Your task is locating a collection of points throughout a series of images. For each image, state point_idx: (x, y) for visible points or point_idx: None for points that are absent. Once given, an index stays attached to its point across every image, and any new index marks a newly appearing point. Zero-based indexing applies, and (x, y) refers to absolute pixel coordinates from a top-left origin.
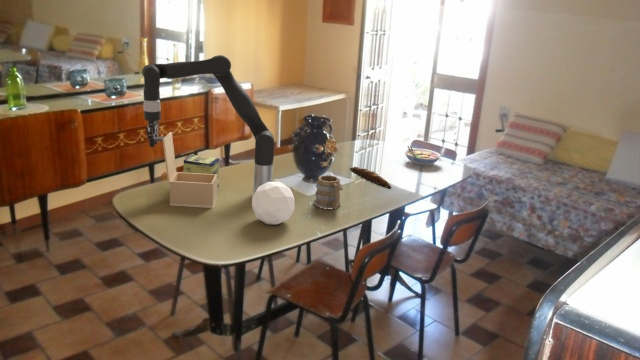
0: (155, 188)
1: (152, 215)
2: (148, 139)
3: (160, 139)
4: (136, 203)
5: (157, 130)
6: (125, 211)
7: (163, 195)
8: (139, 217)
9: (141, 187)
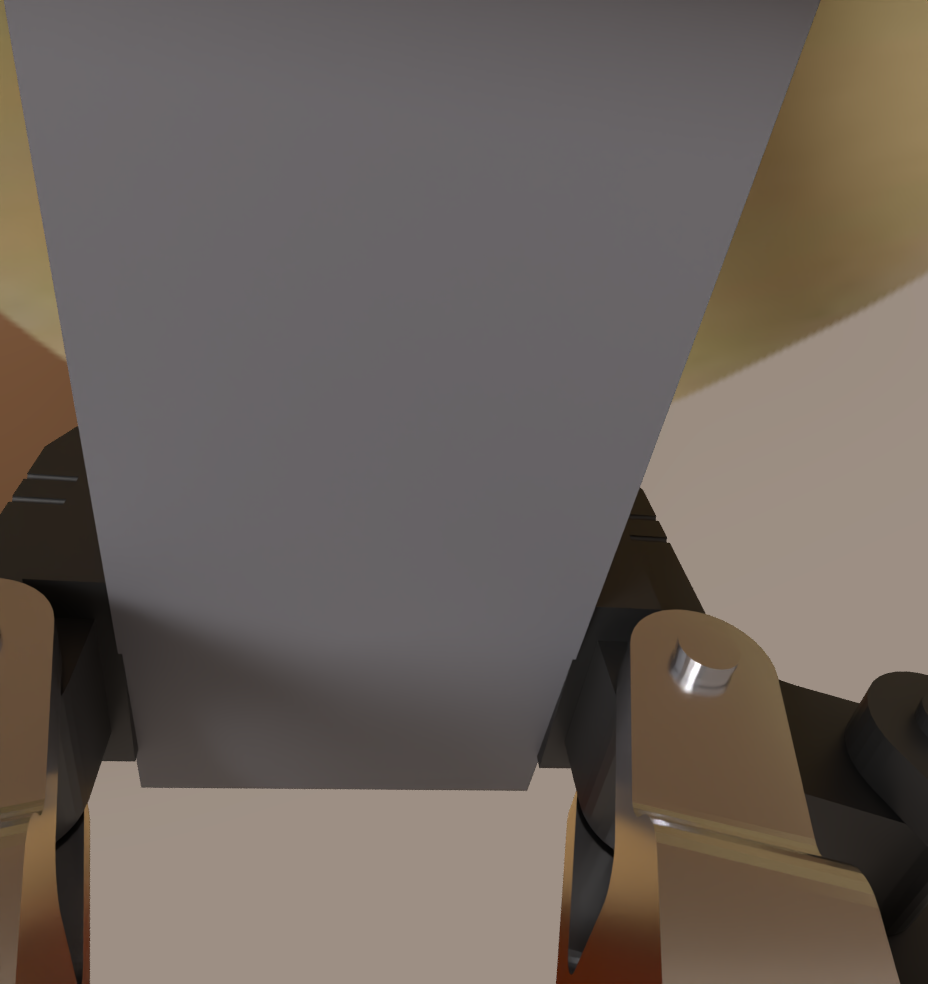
0: (4, 163)
1: (851, 87)
2: (529, 774)
3: (676, 306)
4: None
5: (11, 982)
6: (699, 361)
7: None
8: (868, 215)
9: (25, 328)
